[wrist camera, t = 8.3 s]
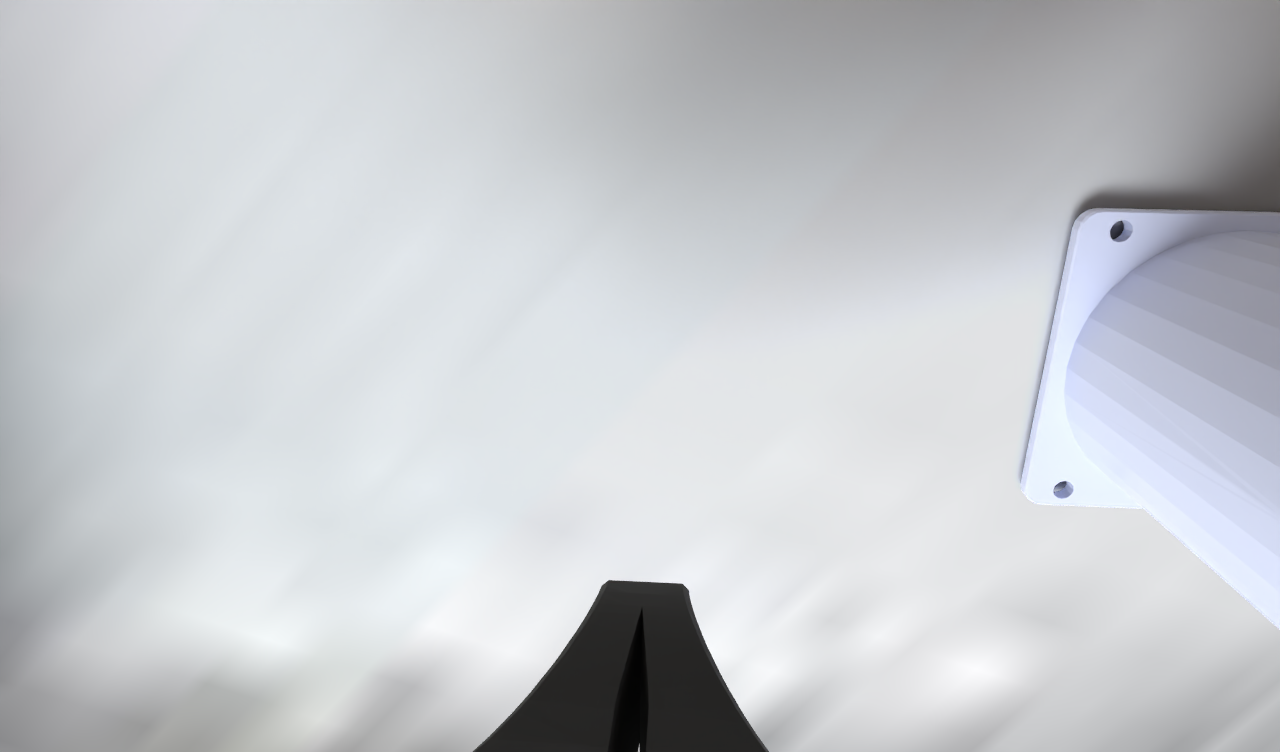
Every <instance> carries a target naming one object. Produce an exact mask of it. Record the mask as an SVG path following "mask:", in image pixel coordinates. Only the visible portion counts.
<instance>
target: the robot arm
mask: <svg viewBox="0 0 1280 752" xmlns="http://www.w3.org/2000/svg"><path fill="white" fill-rule="evenodd" d="M1118 221H1122V222H1123V223H1124V230H1123V232H1122V234H1121V235H1120V236H1119V237H1117V238H1116V239H1112V238H1111V237H1110V230H1111V228H1112V226H1113V225H1114V224H1115V223H1116V222H1118ZM1063 481H1067V484H1066V486H1065V488H1063V489H1062V490H1061V491H1056V492H1054V491H1053V489H1054V487H1055V485H1056V484H1058V483H1059V482H1063ZM1021 490H1022V492H1023V494H1024V495H1025V496H1026V497H1027V498H1028V499H1029V500H1030V501H1031V502H1033V503H1036V504H1041V505H1065V506H1089V507H1114V508H1138V509H1144V510H1145V511H1147V512H1148V513H1149V514H1150V515H1151V516H1152V517H1153V518H1155V519H1156V520H1157V521H1158V522H1159V523H1160V524H1161V525H1162V526H1164V527H1165V528H1166V529H1167V530H1168V531H1169V532H1170V533H1171V534H1173V535H1174V536H1175V537H1176V538H1177V539H1178V540H1179V541H1180V542H1182V543H1183V544H1184V545H1185V546H1186V547H1187V548H1188V549H1189V550H1191V551H1192V552H1193V553H1194V554H1195V555H1196V556H1197V557H1198V558H1200V559H1201V560H1202V561H1203V562H1204V563H1205V564H1206V565H1207V566H1209V567H1210V568H1211V569H1212V570H1213V571H1214V572H1215V573H1216V574H1218V575H1219V576H1220V577H1221V578H1222V579H1223V580H1224V581H1225V582H1227V583H1228V584H1229V585H1230V586H1231V587H1232V588H1233V589H1234V590H1236V591H1237V592H1238V593H1239V594H1240V595H1241V596H1242V597H1243V598H1245V599H1246V600H1247V601H1248V602H1249V603H1250V604H1251V605H1252V606H1254V607H1255V608H1256V609H1257V610H1258V611H1259V612H1260V613H1261V614H1263V615H1264V616H1265V617H1266V618H1267V619H1268V620H1269V621H1270V622H1272V623H1273V624H1274V625H1275V626H1276V627H1277V628H1278V629H1279V630H1280V212H1252V211H1209V210H1165V209H1122V208H1094V209H1089V210H1087V211H1085V212H1083V213H1082V214H1080V216H1079V217H1078V218H1077V219H1076V220H1075V222H1074V225H1073V227H1072V231H1071V236H1070V241H1069V246H1068V251H1067V256H1066V261H1065V266H1064V271H1063V276H1062V281H1061V286H1060V291H1059V296H1058V301H1057V306H1056V310H1055V315H1054V320H1053V325H1052V330H1051V335H1050V340H1049V345H1048V350H1047V355H1046V360H1045V365H1044V370H1043V375H1042V380H1041V385H1040V389H1039V394H1038V399H1037V404H1036V409H1035V414H1034V419H1033V424H1032V429H1031V434H1030V439H1029V444H1028V449H1027V454H1026V459H1025V464H1024V469H1023V473H1022V478H1021ZM639 743H640V752H769V751H768V750H767V748H766V747H765V746H764V744H763V743H762V741H761V740H760V739H759V737H758V736H757V734H756V733H755V731H754V730H753V728H752V727H751V725H750V724H749V722H748V721H747V719H746V718H745V716H744V714H743V713H742V711H741V710H740V708H739V706H738V704H737V703H736V701H735V699H734V698H733V696H732V694H731V692H730V691H729V689H728V687H727V685H726V683H725V682H724V680H723V678H722V676H721V674H720V672H719V670H718V668H717V666H716V664H715V662H714V660H713V658H712V656H711V654H710V651H709V649H708V647H707V645H706V643H705V640H704V638H703V636H702V633H701V631H700V628H699V626H698V623H697V620H696V617H695V614H694V611H693V608H692V605H691V601H690V596H689V590H688V589H687V588H686V587H685V586H684V585H683V584H676V583H655V582H633V581H612V580H609V581H607V582H606V583H605V584H604V585H602V587H601V589H600V591H599V594H598V596H597V597H596V599H595V601H594V603H593V605H592V607H591V609H590V610H589V612H588V614H587V615H586V617H585V619H584V620H583V622H582V623H581V625H580V627H579V628H578V630H577V631H576V633H575V634H574V636H573V637H572V639H571V640H570V641H569V643H568V644H567V646H566V647H565V649H564V650H563V651H562V653H561V654H560V656H559V657H558V659H557V660H556V661H555V663H554V664H553V665H552V666H551V668H550V669H549V670H548V671H547V673H546V674H545V675H544V676H543V678H542V679H541V680H540V681H539V683H538V684H537V685H536V686H535V688H534V689H533V690H532V691H531V693H530V694H529V695H528V696H527V697H526V698H525V699H524V701H523V702H522V703H521V704H520V705H519V706H518V707H517V708H516V710H515V711H514V712H513V713H512V714H511V715H510V716H509V717H508V718H507V719H506V720H505V721H504V722H503V723H502V724H501V725H500V726H499V727H498V728H497V729H496V730H495V731H494V732H493V733H492V734H491V735H490V736H489V737H488V738H487V739H486V740H485V741H484V742H483V743H482V744H481V745H479V746H478V747H477V748H476V749H475V750H474V751H473V752H638V748H639Z"/></svg>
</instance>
